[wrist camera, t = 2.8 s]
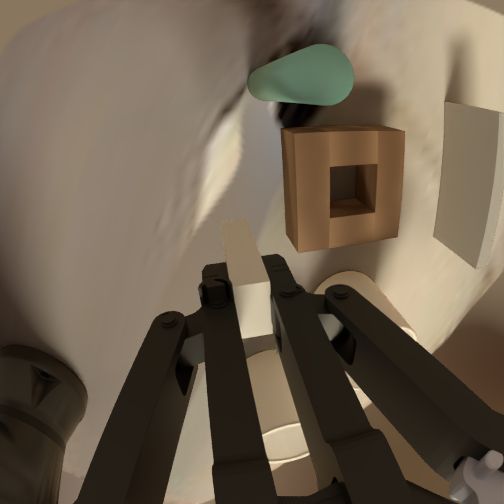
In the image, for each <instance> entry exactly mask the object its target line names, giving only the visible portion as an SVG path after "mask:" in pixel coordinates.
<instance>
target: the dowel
mask: <svg viewBox="0 0 504 504" xmlns="http://www.w3.org/2000/svg"><path fill="white" fill-rule="evenodd" d="M353 84H354V71H353V67H352V65H351V63H350V61H349V59H348V58H347V57H346V55H345V54H344V53H343V52H341V51H340V50H339V49H337V48H335V47H333V46H330V45H326V44H317V45H312V46H309V47H307V48H304V49H302V50H299V51H297V52H294V53H292V54H289V55H287V56H285V57H282V58H280V59H278V60H275V61H273V62H271V63H268V64H266V65H264V66H262V67H260V68H257V69H256V70H254V71H253V72H252V73H251V74H250V76H249V78H248V89H249V91H250V93H251V94H252V95H253V96H254V97H255V98H257V99H259V100H262V101H277V102H292V103H304V104H314V105H324V106H328V105H334V104H337V103H339V102H341V101H343V100H344V99H345V98H346V97H347V96H348V95H349V93H350V92H351V90H352V87H353Z"/></svg>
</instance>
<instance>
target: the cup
mask: <svg viewBox="0 0 504 504" xmlns="http://www.w3.org/2000/svg"><path fill="white" fill-rule="evenodd" d="M336 284H344V285H348V286H350V287H352V288H354V289H355V290H356V291H357V292H359V293H360V294H361V295H362V296H363V297H365V298H366V299H367V300H368V301H369V302H371V303H372V304H373V305H374V306H375V307H377V308H378V309H379V310H380V311H381V312H383V313H384V314H385V315H386V316H387V317H388V318H390V319H391V320H392V321H393V322H394V323H395V324H397V325H398V326H399V327H400V328H401V329H402V330H404V331H405V332H406V333H407V334H408V335H409V336H411V337H412V338H413V339H414V340H415V341H416V342H417V336H416V333H415V332H414V330H413V329H412V328H411V327H410V325H409V324H408V323H407V322H406V320H405V319H404V318H403V317H402V316H401V314H400V313H399V312H398V311H397V309H396V308H395V307H394V306H393V305H392V303H391V302H390V301H389V300H388V299H387V297H386V296H385V295H384V294H383V293H382V292H381V290H380V289H379V288H378V287H377V286H376V284H375V283H374V282H373V281H372V280H371V279H370V278H369V277H367V276H366V275H364V274H362V273H360V272H356V271H345V272H340V273H337V274H335V275H333V276H331V277H329V278H328V279H326V280H325V281H324V282H323V283H321V284H320V286H319V287H318V288H317V289H316V291H315V292H314V294H325V290H326V289H327V288H328V287H330V286H331V285H336ZM345 372H346V371H345ZM346 374H347V373H346ZM347 377H348V379H349V381H350V383H351V385H352V387H353V389H354V390H361V389H360V387H359V386H358V385H357V384H356V383H355V382H354V381H353V379H352V378H351V377H350V376H349V375H348V374H347Z"/></svg>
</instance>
